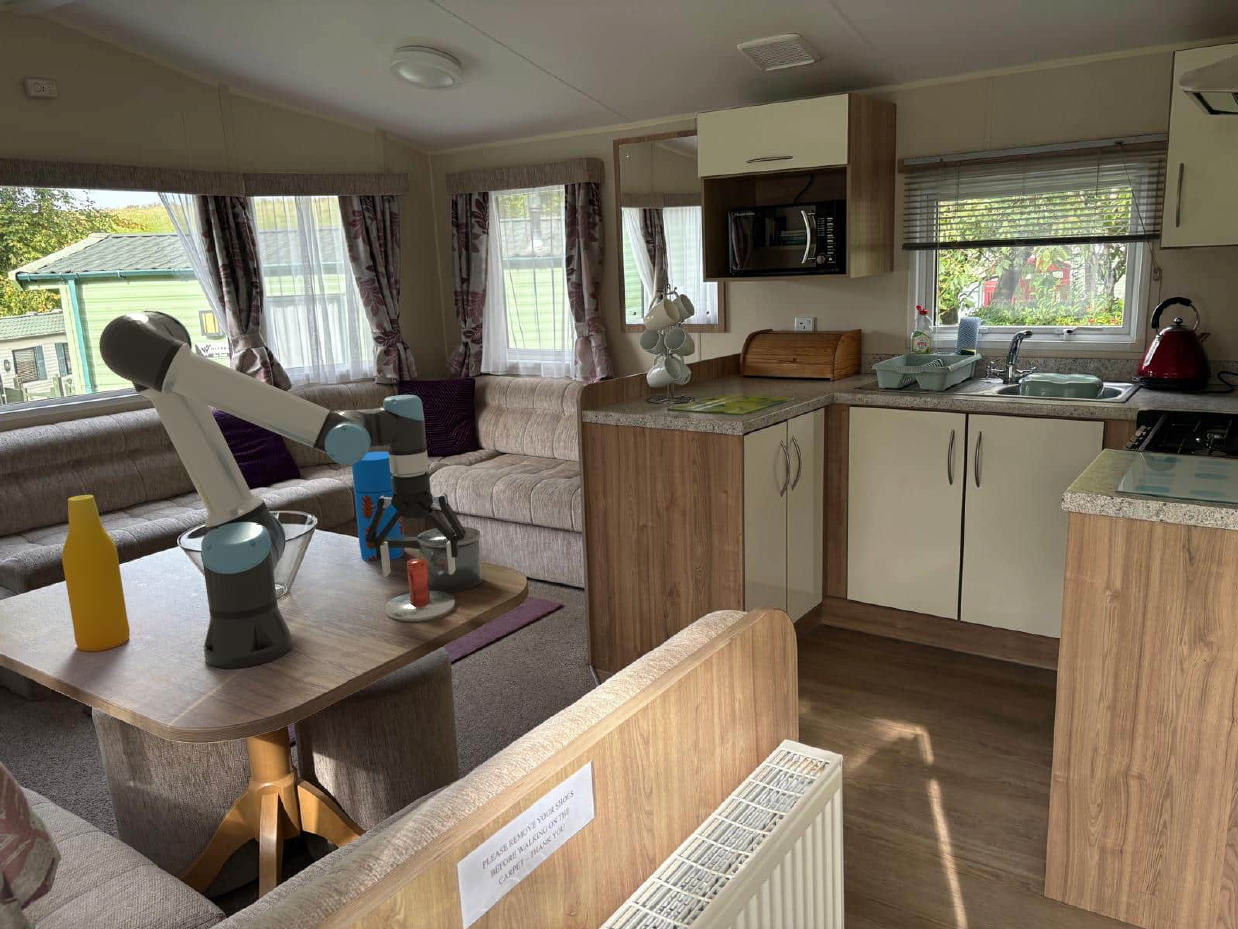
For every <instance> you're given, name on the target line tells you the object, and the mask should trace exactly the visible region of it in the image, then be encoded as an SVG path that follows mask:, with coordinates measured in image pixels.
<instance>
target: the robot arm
mask: <svg viewBox="0 0 1238 929" xmlns="http://www.w3.org/2000/svg"><path fill="white" fill-rule="evenodd" d="M192 345H193V343H192V339H191V335H190V333H189V331H188V329H187V328H186V326H185V325H184V324H183V323H182V322H181V321H180V320H179V319H177V318H176V317H174V316H173V315H171V314H168V313H165V312H162V311H159V310H144V311H139V312H135V313H128V314H123V315H120V316H118V317H116V318H114V319H113V320H111V321H110V322H109V323H107V324H106V325H105V327H104V328H103V330H102V332H101V335H100V338H99V346H98V348H99V353H100V356H101V358H102V361H103V362H104V364H105V365H106V366H107V368H108V369H109V370H110V372H113V373H114V374H115V375H117V376H119V377H120V378H122V379H124V380H127V381H129V382H131V383H132V385H133V387H134V389H135V391H136V394H137V395H139V396H141V397H145V398H147V399H149V400H150V401H151V403H152V404H153V407H154V409H155V411H156V413H157V414H158V417H159V419H160V421H161V423H162V424H163V426H164V429H165V430H166V432H167V434H168V437H169V438H170V440H171V443H172V445H173V446H174V448H175V450H176V452H177V454H178V456H179V459H180V460H181V463H182V464H183V466H184V468H185V470H186V472H187V474H188V477H189V478H190V480H191V482H192V484H193V485H194V488H195V489H196V491H197V494H198V496H199V498H200V499H201V501H202V504H203V505H204V508H205V509H206V511H207V518H206V521H205V523H204V527H205V528H206V530H207V533H206V534H205V535H204V536H203V538H202V540H201V544H200V545H201V546H200V548H201V550H200V558H201V562H202V567H203V573H204V580H205V588H206V595H207V597H206V598H207V602H208V604H207V605H208V609H209V610H208V611H209V617H210V618H209V623H208V626H207V631H206V632H207V633H206V636H205V640H204V646H203V652H204V660H205V662H206V664H208V665H210V666H213V667H216V668H224V669H237V668H239V669H240V668H248V667H253V666H257V665H261V664H264V663H268V662H271V661H273V660H276V659H278V658H280V657H282V656H283V655H285V654H287V652H289V651H290V650H291V649H292V646H293V642H292V633H291V630H290V629H289V627H288V624H287V623H286V621H285V619H284V616H283V615H282V612H281V611H280V608H279V606H278V599H277V590H276V583H275V580H276V579H275V570H276V568H277V566H278V563H279V562H280V560H281V558H282V556H283V554H284V551H285V549H286V542H287V540H286V533H285V528H284V527H283V524H282V523H281V521H280V520H279V519H278V518H277V517H276V516H275V515H273V514H272V513H271V512H270V510H269V508H268V505H267V503H266V502H265V500H264V498H262V497H259V496H256V495H254V494H253V493H252V492H251V489H250V487H249V486H248V484H247V481H246V480H245V478H244V475H243V474H242V471H241V469H240V467H239V465H238V463H237V461H236V460H235V457H234V455H233V453H232V451H231V449H230V447H229V446H228V443H227V441H226V439H225V437H224V435H223V433H222V431H221V428H220V426H219V425H218V423H217V421H216V419H215V416H214V415H213V412H212V411H211V408H214V409H217V410H219V411H221V412H224V413H227V414H228V415H231V416H234V417H236V418H239V419H242V420H244V421H247V422H248V423H251V424H254V425H256V426H259V427H261V428H263V429H266V430H268V431H270V432H273V433H276V434H278V435H281V436H283V437H286V438H288V439H290V440H293V441H294V442H297V443H300V444H303V445H305V446H308V447H311V448H312V449H315V450H316V451H318V452H319V451H320V452H322V453H323V454H325V455H328V457H329V458H330V459H331V460H332V461H334V462H335V463H337V464H339V465H343V466H350V465H351V466H352V464H355V463H357V462H359V461H360V460H362V459H363V458H364V456H365V455H366V454H367V453H369V452H370V448H372V447H383V446H387V449H388V450H387V452H389V462H390V472H391V473H392V474H393V475H392V476H391V482H392V492H393V497H392V498H389V497H386V496H384V495H383V496H381V497H380V498H379V499H378V500H377V511H376V513H375V516H374V519H373V521H372V524H371V526H370V529H369V531H368V534H367V536H366V539H365V540H366V542H368V543H369V542H371V543H374V544H375V546H376V555H377V559H378V560H382V561H381V567H382V576H383V577H388V575H390V573H391V572H392V571H391V563H390V561H391V560H389V551H388V542H383V540H384V539H385V538H386V536H387V535H388V534H389V532H390V531H391V530H392V528H393V527H394V526H395V524H396V523H397V522H398V520H399V519H400V518H401V516H402V517H403V518H404V519H405V520H407V519H412V518H413V519H421V518H424V519H426V520H427V521H429V522H430V523H431V524H432V525H433V527H435V529H436V528H437V529H438V530H439V531H440V532H441V533H442V534H443V535H444V536H445V537H446V538H447V539H448V540H449V541H448V542H447V544H446V546H447V558H448V569H449V574H453V573H454V572H455V558H454V557H457V556H458V554H459V549H458V541H459V540H462V539H464V537H465V536H466V531H465V530H464V528H463V527H464V526H463V525H462V523H461V521H460V520H459V518H458V517H457V515H456V514H455V512H454V510H453V509H452V506H451V505H450V503H449V499H448V494H446V492H445V493H442V494H441V495H433V494H432V491H431V490H432V489H431V481H430V480H431V479H430V473H429V472H428V470H429V458H428V457H429V456H428V449H427V448H428V447H427V437H426V424H425V415H424V406H423V401H422V399H421V398H420V397H419V396H418V395H415V394H400V395H393V396H391V395H390V396H387V397H385V398H384V400H383V404H382V407H379V408H378V407H376V408H367V409H366V408H364V409H351V410H350V409H349V410H339V409H338V410H337V411H332V410H330V409H328V408H326V407H323V406H321V405H318V404H316V403H313V402H311V401H309V400H307V399H304V398H302V397H300V396H298V395H294V394H293V393H290V392H288V391H286V390H283V389H281V388H278V387H276V386H273V385H271V384H269V383H267V382H264V381H261V380H259V379H257V378H255V377H253V376H250V375H247V374H245V373H242V372H240V371H238V370H236V369H234V368H231V367H229V366H227V365H224V364H221V363H220V362H217V361H214V360H213V359H209V358H207V357H205V356H203V355H201V354H198V353H196V352H193V349H192V347H193V346H192ZM210 407H211V408H210ZM434 503H435V504H436V505H437V506H438V507H439V508H440V510H441V512H442V514H443V515H444V517H445V519H446V520H447V522H448V524H449V525H450V526H449V525H448V524H447V523H446V521H444V520H443V518H441V517H440V516H439V515H438V514H437V512H436V511H435V510H434V508H433V507H432V505H433V504H434ZM390 504H392V505H393V506H394V508H395V509H396V510H397V511H396V513H395V514H394V516H393V517H392V518H391V520H390V521H389V523H388V524H387V525H386V527H385V528H384V529H383V531H382V532H381V533H380V535H379V536H375V535H376V533H377V530H378V528H379V525H380V523H381V520H382V518H383V515H384V513H385V510H386V508H387V507H388V506H389V505H390ZM450 527H452V528H453V530H454V531H453V530H452V529H451V528H450Z"/></svg>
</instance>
